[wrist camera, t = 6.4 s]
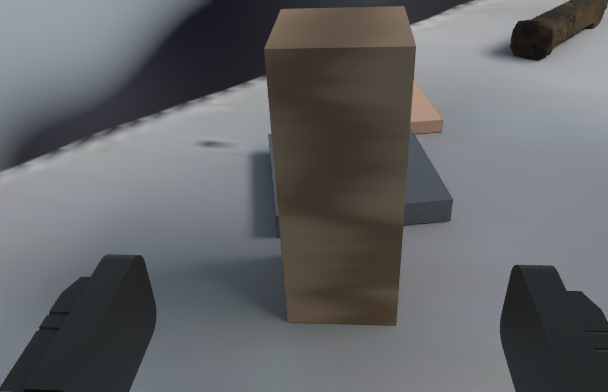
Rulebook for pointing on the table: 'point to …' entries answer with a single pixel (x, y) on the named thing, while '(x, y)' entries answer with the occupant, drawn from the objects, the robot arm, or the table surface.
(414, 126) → the tile
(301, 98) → the walnut block
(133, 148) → the table surface
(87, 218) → the table surface
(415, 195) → the hole plate
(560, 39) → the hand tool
